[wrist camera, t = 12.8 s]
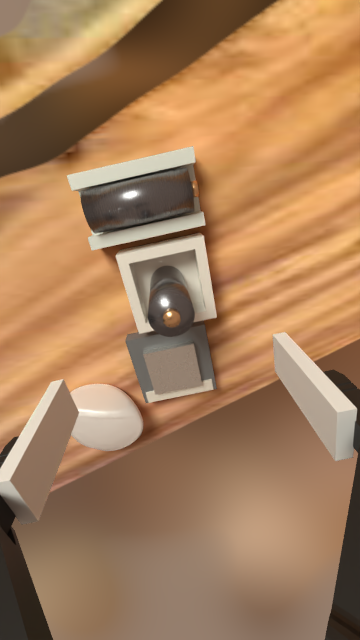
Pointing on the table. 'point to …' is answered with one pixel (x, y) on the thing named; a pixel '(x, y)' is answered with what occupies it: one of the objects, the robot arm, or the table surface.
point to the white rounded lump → (105, 417)
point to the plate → (173, 367)
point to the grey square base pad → (155, 340)
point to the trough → (133, 171)
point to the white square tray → (171, 252)
